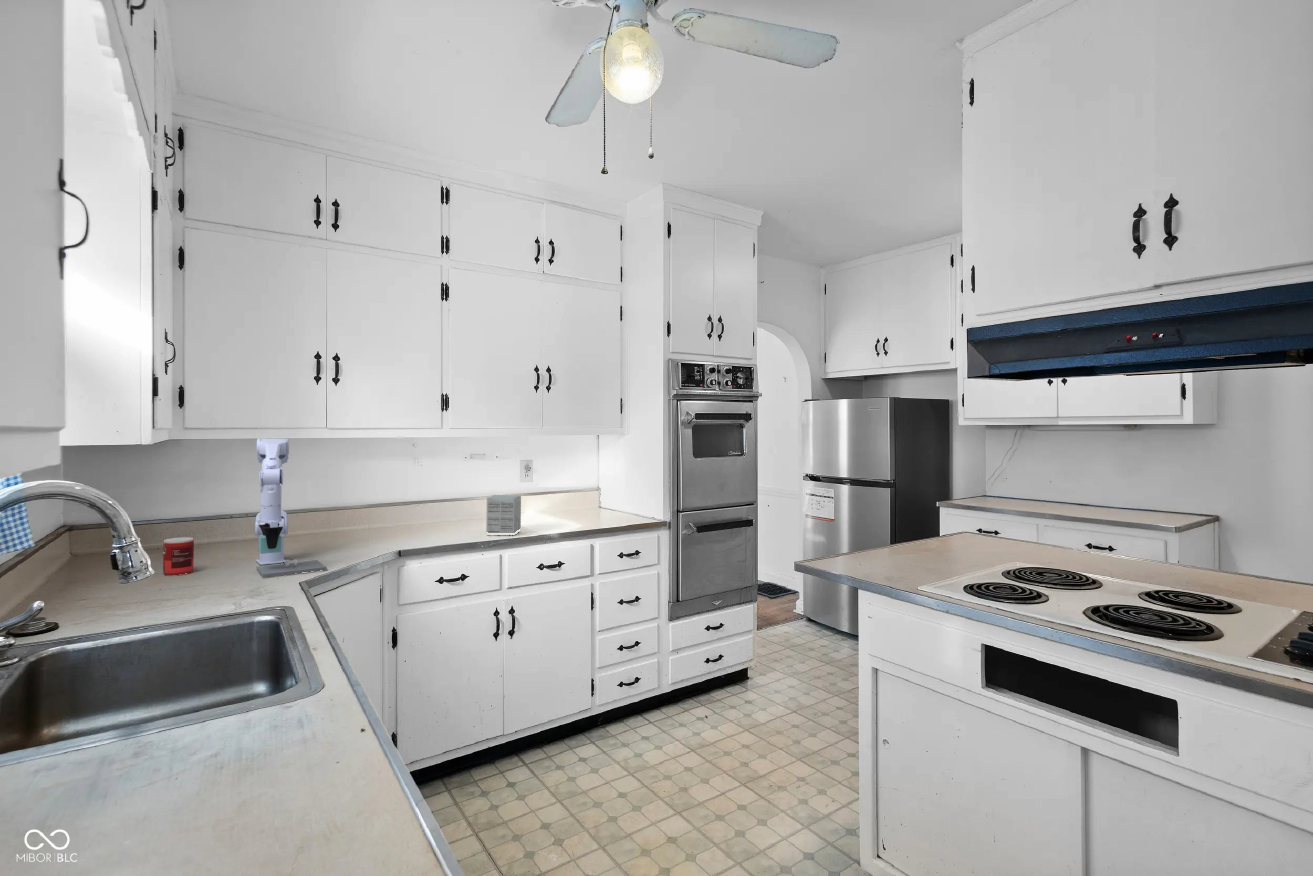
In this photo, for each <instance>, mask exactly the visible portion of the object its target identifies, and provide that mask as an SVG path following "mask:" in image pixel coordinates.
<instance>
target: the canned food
mask: <svg viewBox="0 0 1313 876" xmlns="http://www.w3.org/2000/svg"><path fill="white" fill-rule="evenodd" d="M194 550H195V540H194V537H188V536H186V537H173V538H166V539H164V540H163V551H162V552H163V553H162V554H163V555H162V557H163V559H162V560H163V561H162V563H163V564H162V568H163V572H162V573H163V575H164V574H166V575H165V576H167V575H177V576H180V575H179V574H185V573H189V574H191V573H190V572H192V571H194V565H195V564H194V563H195V562H194V560H195V557H194V556H195V551H194ZM192 573H193V572H192ZM185 575H186V574H185Z"/></svg>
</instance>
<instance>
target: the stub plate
mask: <svg viewBox="0 0 1313 876" xmlns="http://www.w3.org/2000/svg"><path fill="white" fill-rule="evenodd" d="M285 560H286V562H285V563H277V564H268V565H260V566H256V570H257V571H258V572H259V573H260V574H259V573H258V572H257V571H256V572H257V573H258V574H259V575H260V576H261V578H262V577H263V578H262V579H266V578H265V577H269V578H275V577H276V576H277V577H285V576H284V575H286V576H291V574H294V575H296V574H295V573H302V572H311V571H320V570H328V567H327V566H326V565H325V564H323V563H322V562H320V561H319V560H308V561H300V562H299V561H298V560H299V559H298V558H293V561H292V562H291V559H285ZM320 572H321V571H320ZM311 573H312V572H311Z"/></svg>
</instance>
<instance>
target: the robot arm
mask: <svg viewBox="0 0 1313 876" xmlns="http://www.w3.org/2000/svg"><path fill="white" fill-rule="evenodd" d="M289 455H290V439H288V437H286V438H270V437H269V438H268V437H267V438H264V437H263V438H261V437H258V438H257V439H256V457H257V461H258V463H259V464H261V470H260V471H259V472H258V473H259V474H258V475H259V479H258V481H259V482H258V483H259V488H260V511H259V512H258V513H257V514H256V516H255V523H254V524H255V525H254V526H255V527H254V528H255V529H254V530H255V532H254V535H255V536H256V537H257V538H259V536H266V541H267V546H268V549H274V548H276V546H277V542H278V538H279V535H280V536H281V552H276V553H266V554H260V552H258V553H259V559H255V561H256V562H257V564H258V565H260V566H266V565H275V564H284V563H286V560H287V559H285V558H284V552H285V549H284V548H285V547H284V546H285V545H284V544H285V542H284V541H285V536H286V535H288V533H289V518H288V513H287V512H286V511H285V510H283V509H282V488H283V485H284V470H283V465H284V464H285V463H288V460H289ZM283 562H284V563H283Z"/></svg>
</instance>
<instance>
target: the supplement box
mask: <svg viewBox="0 0 1313 876" xmlns="http://www.w3.org/2000/svg"><path fill="white" fill-rule="evenodd" d="M521 513H522V496H521V495H517V494H516V495H515V494H509V495H508V494H505V495H504V494H495V495H491V496H488V497H486V528H485V529H486V530H485V532H488V533H515V532H516V531H517V530H519V529H520V528H521V527H522V526H521V522H522V521H521V520H522V518H521V517H522V514H521ZM521 529H522V528H521Z"/></svg>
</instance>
